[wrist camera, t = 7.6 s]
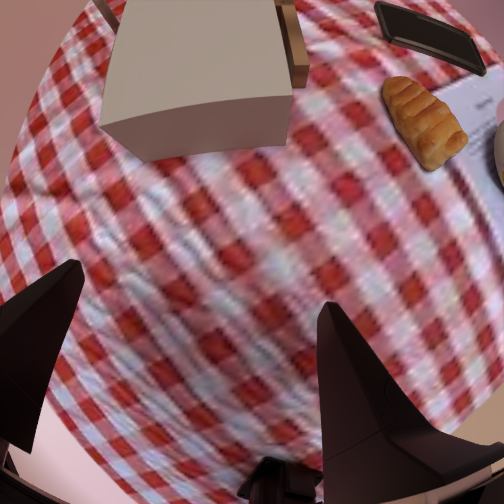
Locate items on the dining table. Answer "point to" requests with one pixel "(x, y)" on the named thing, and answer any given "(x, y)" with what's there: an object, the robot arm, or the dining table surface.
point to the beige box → (197, 78)
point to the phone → (428, 37)
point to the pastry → (423, 122)
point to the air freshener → (499, 151)
